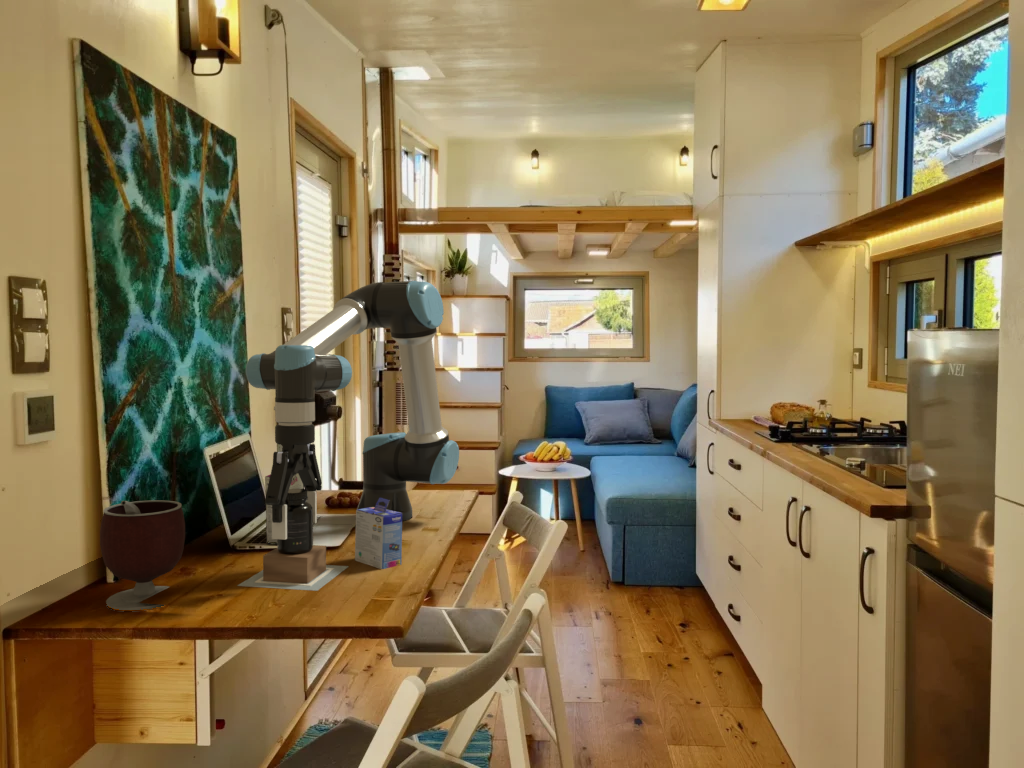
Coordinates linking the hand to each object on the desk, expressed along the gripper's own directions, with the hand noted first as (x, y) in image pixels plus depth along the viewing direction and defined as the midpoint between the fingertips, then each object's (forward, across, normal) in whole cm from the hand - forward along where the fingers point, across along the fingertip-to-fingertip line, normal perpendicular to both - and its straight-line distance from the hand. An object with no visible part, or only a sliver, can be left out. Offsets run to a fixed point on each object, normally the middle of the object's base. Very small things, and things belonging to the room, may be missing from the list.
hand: (295, 530), depth 148 cm
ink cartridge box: (+10, -12, +13) cm, 21 cm away
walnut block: (+9, 0, 0) cm, 9 cm away
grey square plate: (+10, 0, 0) cm, 10 cm away
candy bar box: (+10, -31, -17) cm, 37 cm away
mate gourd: (+10, +16, -22) cm, 29 cm away
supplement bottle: (+4, 0, 0) cm, 4 cm away
